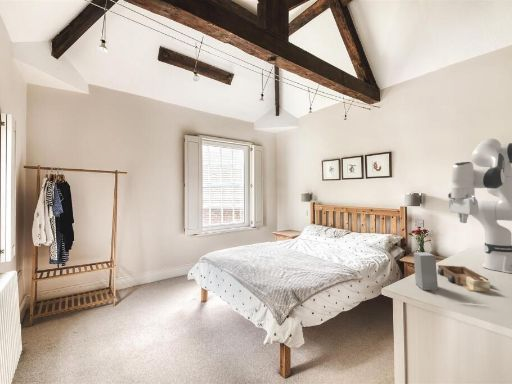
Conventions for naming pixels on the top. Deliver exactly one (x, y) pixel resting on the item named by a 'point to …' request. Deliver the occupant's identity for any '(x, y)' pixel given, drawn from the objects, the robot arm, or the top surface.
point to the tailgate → (474, 290)
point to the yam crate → (478, 283)
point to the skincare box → (425, 271)
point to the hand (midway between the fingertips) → (463, 222)
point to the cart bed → (457, 274)
